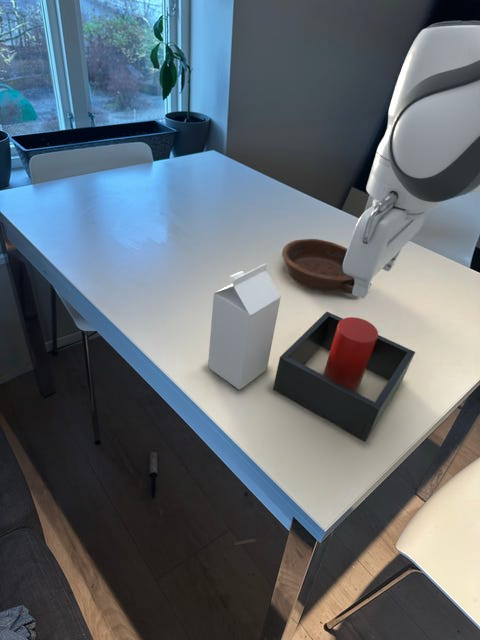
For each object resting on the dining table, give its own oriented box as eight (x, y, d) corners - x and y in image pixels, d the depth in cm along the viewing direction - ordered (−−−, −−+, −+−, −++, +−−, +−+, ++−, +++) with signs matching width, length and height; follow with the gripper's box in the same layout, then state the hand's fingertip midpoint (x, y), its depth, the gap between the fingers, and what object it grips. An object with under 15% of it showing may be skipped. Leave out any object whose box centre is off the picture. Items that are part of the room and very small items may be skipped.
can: (362, 384, 74) (384, 328, 67) (348, 405, 70) (369, 347, 63) (330, 368, 77) (347, 312, 70) (314, 387, 73) (331, 329, 66)
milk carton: (267, 370, 75) (285, 273, 64) (239, 391, 70) (253, 291, 59) (235, 349, 78) (248, 253, 67) (207, 368, 74) (215, 269, 62)
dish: (330, 313, 90) (336, 292, 87) (257, 264, 103) (259, 245, 100) (380, 287, 100) (386, 268, 97) (307, 246, 112) (311, 228, 109)
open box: (401, 382, 76) (415, 351, 72) (365, 442, 65) (379, 409, 61) (318, 341, 82) (326, 311, 78) (272, 389, 71) (279, 356, 67)
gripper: (403, 216, 45) (365, 324, 53) (454, 171, 59) (417, 262, 67) (346, 196, 47) (318, 303, 56) (408, 158, 61) (378, 247, 70)
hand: (373, 280), depth 61 cm, fingers open, 8 cm apart
